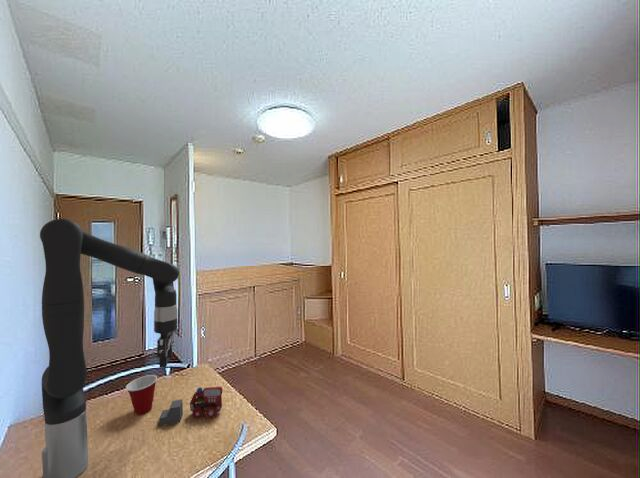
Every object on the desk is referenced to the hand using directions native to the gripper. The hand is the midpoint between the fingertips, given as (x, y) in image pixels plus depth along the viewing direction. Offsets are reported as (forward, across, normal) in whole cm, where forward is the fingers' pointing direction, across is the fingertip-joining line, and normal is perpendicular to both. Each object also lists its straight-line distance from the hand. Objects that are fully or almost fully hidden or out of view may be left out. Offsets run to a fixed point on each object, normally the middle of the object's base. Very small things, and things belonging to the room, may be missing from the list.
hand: (166, 362), depth 104 cm
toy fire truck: (+24, -4, +14) cm, 28 cm away
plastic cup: (+24, -14, -11) cm, 30 cm away
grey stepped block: (+24, -4, +1) cm, 24 cm away
